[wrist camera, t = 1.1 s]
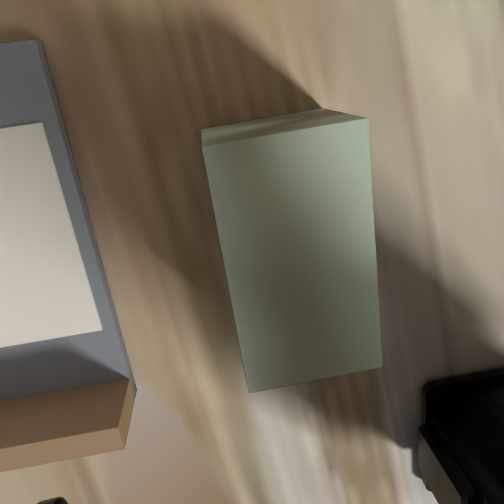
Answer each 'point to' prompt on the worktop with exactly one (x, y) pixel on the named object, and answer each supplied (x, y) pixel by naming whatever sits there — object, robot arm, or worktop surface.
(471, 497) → the robot arm
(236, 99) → the worktop surface
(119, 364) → the arena
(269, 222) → the sage block
